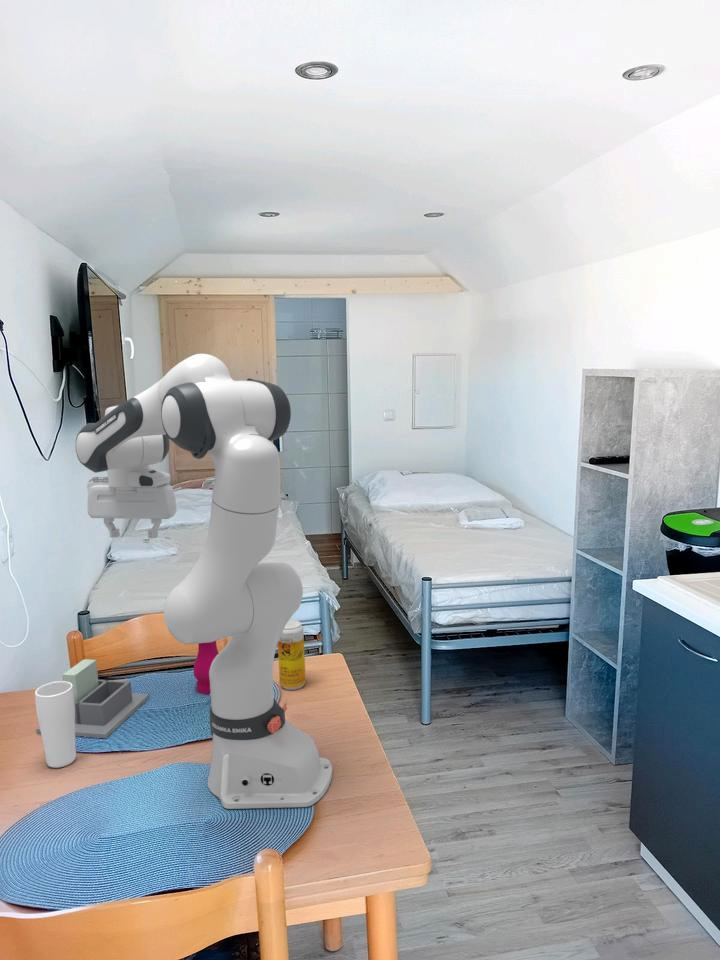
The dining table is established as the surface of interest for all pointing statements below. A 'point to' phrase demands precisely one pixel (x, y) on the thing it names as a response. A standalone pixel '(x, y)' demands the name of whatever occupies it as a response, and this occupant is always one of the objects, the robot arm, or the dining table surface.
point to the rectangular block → (82, 678)
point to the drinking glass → (57, 722)
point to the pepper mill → (204, 665)
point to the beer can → (292, 656)
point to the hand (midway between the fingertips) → (134, 537)
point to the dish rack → (105, 708)
